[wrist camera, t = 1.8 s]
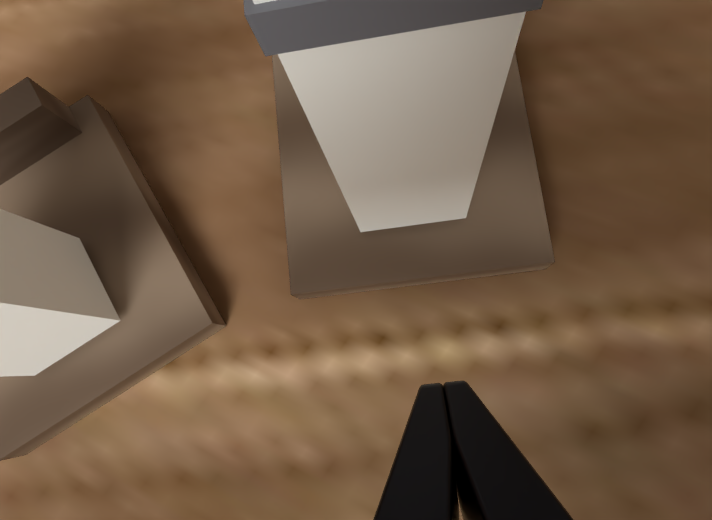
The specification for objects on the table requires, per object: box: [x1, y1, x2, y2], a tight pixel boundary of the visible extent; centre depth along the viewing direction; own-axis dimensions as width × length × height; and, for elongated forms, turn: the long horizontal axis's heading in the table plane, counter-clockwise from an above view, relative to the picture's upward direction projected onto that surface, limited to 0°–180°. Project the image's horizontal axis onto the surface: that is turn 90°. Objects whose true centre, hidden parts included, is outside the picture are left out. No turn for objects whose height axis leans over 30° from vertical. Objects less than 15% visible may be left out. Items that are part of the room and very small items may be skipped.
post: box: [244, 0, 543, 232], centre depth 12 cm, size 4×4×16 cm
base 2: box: [272, 51, 555, 299], centre depth 21 cm, size 12×10×4 cm
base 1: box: [0, 77, 226, 461], centre depth 21 cm, size 12×10×4 cm
